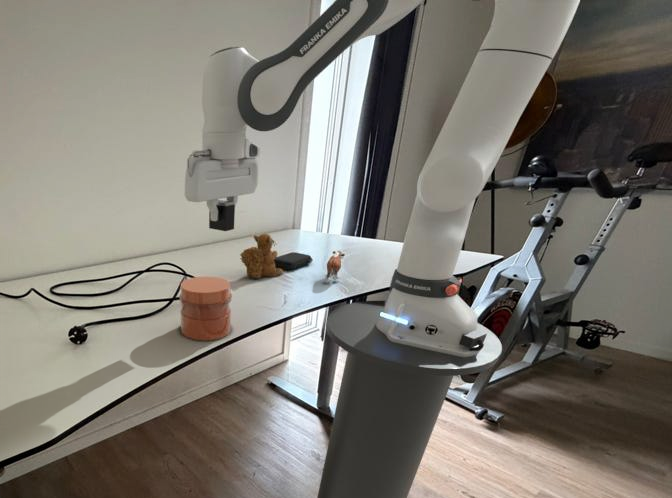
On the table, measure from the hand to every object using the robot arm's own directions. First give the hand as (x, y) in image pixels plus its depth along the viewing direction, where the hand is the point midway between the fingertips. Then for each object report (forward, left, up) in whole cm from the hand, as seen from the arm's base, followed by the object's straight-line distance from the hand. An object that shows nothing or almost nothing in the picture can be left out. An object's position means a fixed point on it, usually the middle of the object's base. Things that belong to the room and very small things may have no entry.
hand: (222, 219), depth 85 cm
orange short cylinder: (-1, +7, -25) cm, 26 cm away
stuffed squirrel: (+14, -36, -25) cm, 46 cm away
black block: (0, 0, -2) cm, 2 cm away
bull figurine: (-6, -48, -25) cm, 54 cm away
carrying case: (+12, -53, -25) cm, 59 cm away
